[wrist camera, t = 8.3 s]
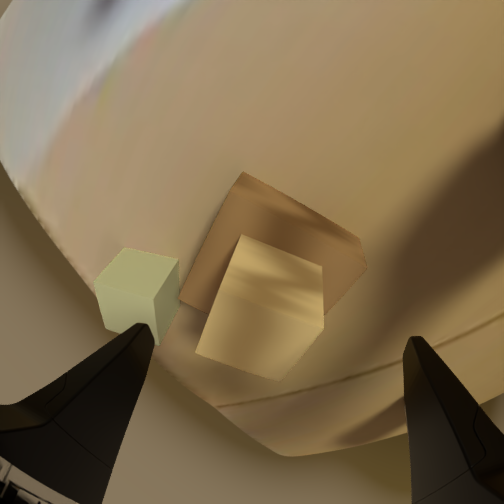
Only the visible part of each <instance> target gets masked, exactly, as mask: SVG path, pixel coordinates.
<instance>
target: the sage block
mask: <svg viewBox="0 0 504 504" xmlns="http://www.w3.org/2000/svg"><path fill="white" fill-rule="evenodd" d="M93 283H94V287H95V291H96V295H97V299H98V303H99V307H100V310H101V314H102V318H103V321H104V324H105V328H106V329H108V330H111V331H114V332H117V333H120V334H121V333H123V332H124V331H125V330H127V329H128V328H130V327H131V326H133V325H134V324H136V323H138V322H140V323H146V324H148V325H149V327H150V329H151V332H152V334H153V336H154V339H155V345H157V346H160V344H161V342H162V340H163V338H164V336H165V334H166V332H167V330H168V328H169V326H170V324H171V322H172V320H173V318H174V316H175V314H176V312H177V311H178V309H179V307H180V300H179V299H178V296H179V294H180V289H179V259H175V258H171V257H166V256H162V255H157V254H153V253H148V252H144V251H139V250H135V249H130V248H126V247H124V248H123V249H122V250H121V252H120V253H119V254H118V255H117V256H116V257H115V258H114V259H113V260H112V261H111V262H110V264H109V265H108V266H107V267H106V268H105V269H104V270H103V271H102V272H101V274H100V275H99V276H98V277H97V278H96V279H95V280H94V282H93Z"/></svg>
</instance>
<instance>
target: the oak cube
mask: <svg viewBox="0 0 504 504" xmlns="http://www.w3.org/2000/svg"><path fill="white" fill-rule="evenodd" d="M323 329H324V310H323V278H322V266H319V265H317V264H314V263H312V262H309V261H307V260H305V259H302V258H300V257H297V256H295V255H292V254H290V253H287V252H285V251H282V250H280V249H277V248H275V247H272V246H270V245H267V244H265V243H262V242H260V241H257V240H255V239H252V238H250V237H247V236H245V235H242V234H241V236H240V239H239V241H238V244H237V246H236V249H235V251H234V253H233V256H232V258H231V261H230V263H229V266H228V268H227V271H226V273H225V276H224V278H223V280H222V283H221V285H220V288H219V290H218V293H217V296H216V298H215V301H214V304H213V306H212V309H211V311H210V314H209V317H208V319H207V322H206V325H205V327H204V330H203V333H202V335H201V338H200V341H199V343H198V346H197V349H196V351H195V353H197V354H199V355H202V356H204V357H207V358H209V359H212V360H215V361H217V362H220V363H223V364H226V365H228V366H231V367H234V368H237V369H240V370H243V371H246V372H249V373H252V374H255V375H258V376H261V377H264V378H267V379H270V380H273V381H277V382H281V381H282V379H283V378H284V377H285V376H286V375H287V374H288V372H289V371H290V370H291V369H292V368H293V366H294V365H295V364H296V363H297V362H298V360H299V359H300V358H301V357H302V356H303V354H304V353H305V352H306V351H307V349H308V348H309V347H310V346H311V344H312V343H313V342H314V341H315V339H316V338H317V337H318V335H319V334H320V333H321V332H322V330H323Z"/></svg>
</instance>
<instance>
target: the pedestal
mask: <svg viewBox="0 0 504 504" xmlns="http://www.w3.org/2000/svg"><path fill="white" fill-rule="evenodd" d="M241 234H242V235H245V236H247V237H250V238H252V239H255V240H257V241H260V242H262V243H265V244H267V245H270V246H272V247H275V248H277V249H280V250H282V251H285V252H287V253H290V254H292V255H295V256H297V257H300V258H302V259H305V260H307V261H309V262H312V263H314V264H317V265H319V266H322V278H323V310H324V315H325V314H326V313H327V312H328V311H329V310H330V309H331V308H332V307H333V306H334V305H335V304H336V303H337V302H338V301H339V299H340V298H341V297H342V296H343V295H344V294H345V293H346V292H347V291H348V290H349V288H350V287H351V286H352V285H353V284H354V283H355V282H356V281H357V279H358V278H359V277H360V276H361V275H362V274H363V273H364V272H365V270H366V269H367V265H366V261H365V257H364V254H363V250H362V246H361V243H360V239H359V238H358V237H357V236H355V235H353V234H352V233H350V232H349V231H347V230H345V229H344V228H342V227H340V226H339V225H337V224H335V223H334V222H332V221H330V220H329V219H327V218H325V217H324V216H322V215H320V214H318V213H317V212H315V211H313V210H312V209H310V208H308V207H306V206H305V205H303V204H301V203H299V202H298V201H296V200H294V199H292V198H291V197H289V196H287V195H285V194H284V193H282V192H280V191H278V190H276V189H275V188H273V187H271V186H269V185H267V184H265V183H264V182H262V181H260V180H258V179H256V178H254V177H252V176H250V175H249V174H247V173H245V172H242V174H241V175H240V177H239V178H238V179H237V181H236V182H235V184H234V185H233V187H232V188H231V190H230V191H229V193H228V195H227V197H226V199H225V201H224V203H223V205H222V207H221V209H220V211H219V213H218V215H217V217H216V219H215V221H214V223H213V225H212V227H211V229H210V231H209V233H208V235H207V237H206V239H205V241H204V243H203V246H202V248H201V250H200V252H199V254H198V256H197V258H196V260H195V262H194V264H193V266H192V268H191V271H190V273H189V275H188V277H187V279H186V281H185V283H184V286H183V288H182V290H181V292H180V294H179V296H178V299H179V300H181V301H183V302H185V303H187V304H189V305H191V306H193V307H195V308H196V309H198V310H200V311H202V312H204V313H206V314H208V315H209V314H210V311H211V309H212V306H213V304H214V301H215V298H216V296H217V293H218V290H219V288H220V285H221V283H222V280H223V278H224V276H225V273H226V271H227V268H228V266H229V263H230V261H231V258H232V256H233V253H234V251H235V249H236V246H237V244H238V241H239V239H240V236H241Z"/></svg>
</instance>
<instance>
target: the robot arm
mask: <svg viewBox="0 0 504 504" xmlns="http://www.w3.org/2000/svg"><path fill="white" fill-rule="evenodd" d="M154 345H155V339H154V336H153V334H152V332H151V329H150V327H149V325H148V324H146V323H140V322H138V323H136V324H134V325H133V326H131V327H130V328H128V329H127V330H125V331H124V332H123V333H121V334H120V335H118V336H117V337H116V338H114V339H113V340H112V341H110V342H108V343H107V344H106V345H104V346H103V347H101V348H100V349H98V350H97V351H96V352H94V353H93V354H91V355H90V356H89V357H87V358H86V359H84V360H83V361H82V362H80V363H79V364H77V365H76V366H74V367H73V368H72V369H70V370H69V371H68V372H66V373H64V374H63V375H62V376H60V377H59V378H57V379H56V380H54V381H53V382H52V383H50V384H48V385H47V386H45V387H43V388H42V389H40V390H39V391H37V392H35V393H33V394H32V395H30V396H28V397H26V398H25V399H23V400H21V401H19V402H17V403H14V404H10V405H0V504H75V503H76V502H77V503H79V504H102V501H103V498H104V495H105V492H106V489H107V486H108V482H109V479H110V476H111V473H112V469H113V467H114V464H115V461H116V458H117V455H118V452H119V449H120V446H121V443H122V440H123V438H124V435H125V432H126V429H127V427H128V424H129V421H130V418H131V415H132V412H133V410H134V407H135V405H136V402H137V399H138V396H139V394H140V392H141V389H142V386H143V384H144V381H145V377H146V375H147V371H148V367H149V363H150V360H151V356H152V352H153V349H154ZM403 374H404V400H405V409H406V417H407V427H408V437H409V449H410V463H411V488H412V504H504V434H503V433H502V432H501V431H500V430H499V429H498V428H497V427H496V425H495V424H494V423H493V422H492V421H491V419H490V418H489V417H488V416H487V415H486V414H485V412H484V411H483V409H482V408H481V407H480V406H479V405H478V403H477V402H476V401H475V399H474V398H473V397H472V395H471V394H470V393H469V392H468V390H467V389H466V388H465V387H464V385H463V384H462V383H461V382H460V381H459V379H458V378H457V377H456V376H455V375H454V373H453V372H452V371H451V370H450V369H449V367H448V366H447V365H446V364H445V363H444V361H443V360H442V359H441V358H440V357H439V356H438V354H437V353H436V352H435V351H434V350H433V349H432V347H431V346H430V345H429V344H428V343H427V342H426V341H425V339H424V338H423V337H421V336H411V337H410V338H409V339H408V342H407V345H406V347H405V350H404V353H403Z"/></svg>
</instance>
